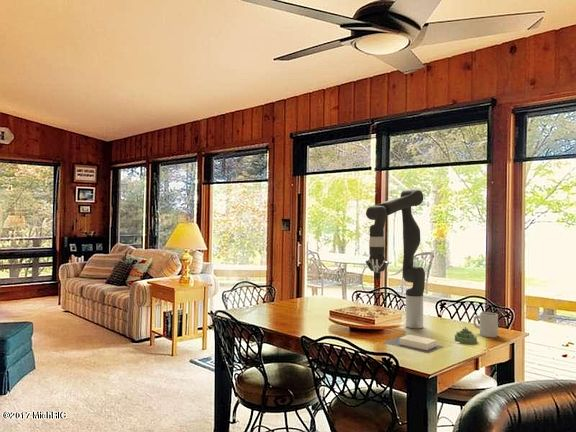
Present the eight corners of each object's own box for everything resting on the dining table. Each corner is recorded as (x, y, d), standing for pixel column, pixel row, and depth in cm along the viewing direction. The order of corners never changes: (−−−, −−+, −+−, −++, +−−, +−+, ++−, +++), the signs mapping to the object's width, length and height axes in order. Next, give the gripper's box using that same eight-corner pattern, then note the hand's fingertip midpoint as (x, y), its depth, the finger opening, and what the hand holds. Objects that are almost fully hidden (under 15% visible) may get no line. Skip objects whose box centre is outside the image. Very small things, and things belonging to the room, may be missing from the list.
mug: (500, 335, 235) (500, 313, 235) (494, 338, 229) (494, 316, 229) (476, 331, 244) (476, 310, 244) (470, 334, 237) (470, 312, 237)
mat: (381, 344, 219) (381, 342, 219) (398, 338, 230) (398, 336, 230) (428, 354, 202) (428, 353, 202) (444, 347, 213) (444, 346, 213)
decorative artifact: (480, 341, 224) (461, 337, 231) (480, 327, 224) (461, 323, 231) (470, 345, 217) (450, 341, 225) (470, 330, 217) (450, 326, 225)
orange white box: (399, 338, 216) (426, 343, 206) (409, 334, 222) (436, 340, 212) (399, 344, 216) (426, 350, 206) (409, 341, 222) (436, 346, 212)
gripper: (392, 245, 231) (392, 280, 231) (370, 244, 240) (370, 277, 240) (383, 246, 226) (384, 281, 226) (361, 245, 235) (362, 279, 235)
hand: (377, 279), depth 233 cm, fingers closed
